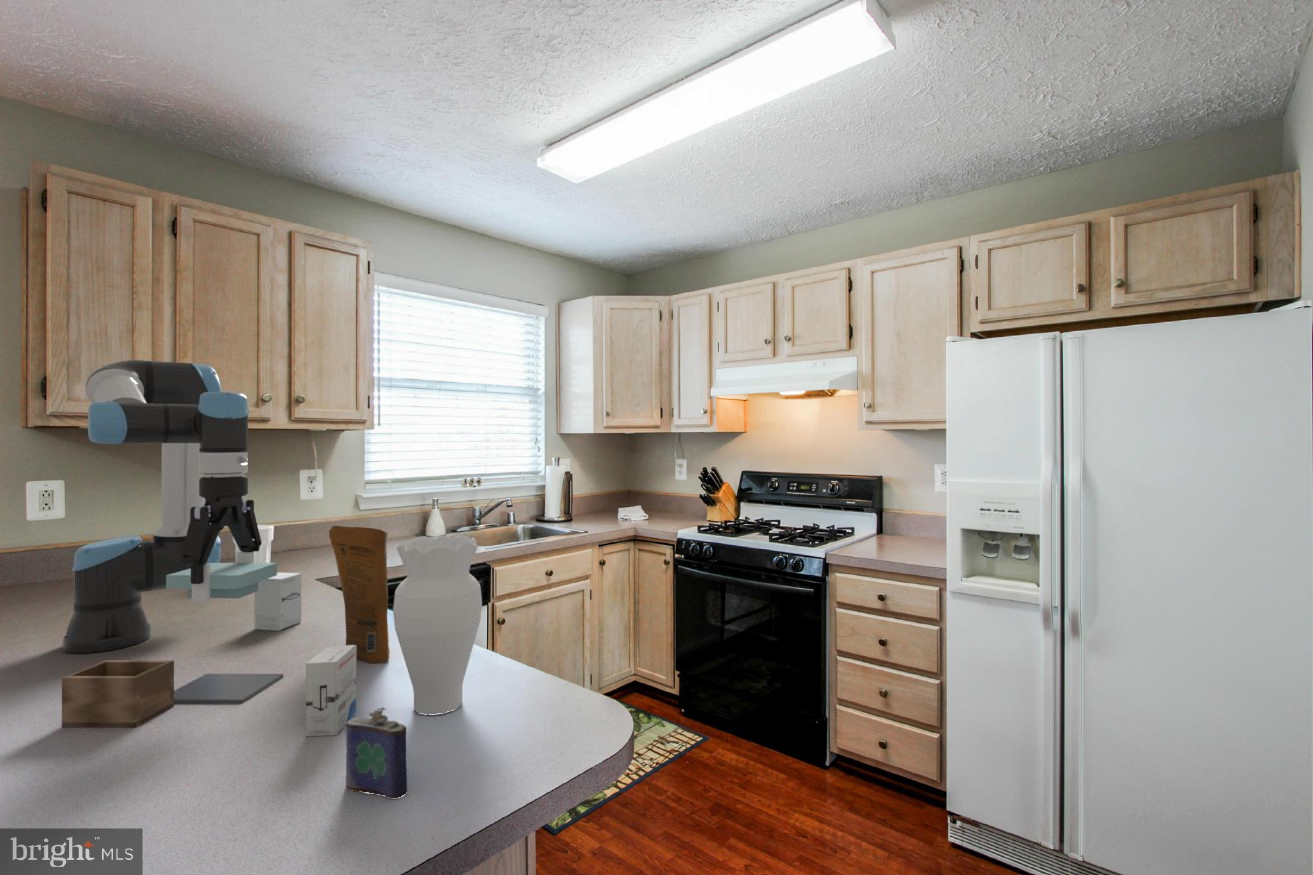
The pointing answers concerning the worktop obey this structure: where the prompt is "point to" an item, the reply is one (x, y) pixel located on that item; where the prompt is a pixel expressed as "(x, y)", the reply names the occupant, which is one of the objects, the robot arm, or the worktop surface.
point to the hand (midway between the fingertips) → (223, 593)
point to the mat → (224, 688)
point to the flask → (376, 755)
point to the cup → (265, 547)
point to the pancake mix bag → (363, 589)
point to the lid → (227, 579)
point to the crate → (117, 693)
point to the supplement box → (278, 602)
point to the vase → (437, 618)
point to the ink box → (330, 690)
